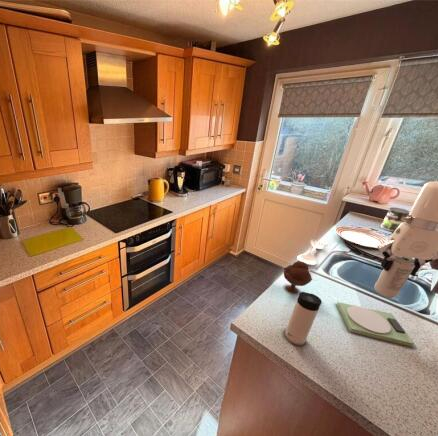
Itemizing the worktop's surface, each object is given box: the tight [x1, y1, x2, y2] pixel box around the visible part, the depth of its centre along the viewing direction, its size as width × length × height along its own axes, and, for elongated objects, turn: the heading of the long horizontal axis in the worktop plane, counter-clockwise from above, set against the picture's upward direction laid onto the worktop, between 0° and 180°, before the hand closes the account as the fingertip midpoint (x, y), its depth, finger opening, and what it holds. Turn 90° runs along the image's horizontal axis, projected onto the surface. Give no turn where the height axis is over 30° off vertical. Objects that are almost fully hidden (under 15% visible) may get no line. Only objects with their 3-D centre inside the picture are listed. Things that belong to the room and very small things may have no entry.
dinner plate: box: [334, 225, 389, 249], centre depth 147 cm, size 28×27×3 cm
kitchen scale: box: [336, 301, 415, 348], centre depth 88 cm, size 18×14×3 cm
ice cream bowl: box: [283, 260, 313, 295], centre depth 103 cm, size 11×11×15 cm
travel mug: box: [284, 291, 322, 346], centre depth 79 cm, size 6×7×20 cm
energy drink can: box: [374, 256, 415, 299], centre depth 78 cm, size 6×6×15 cm
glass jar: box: [380, 207, 411, 233], centre depth 159 cm, size 10×10×14 cm
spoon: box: [296, 237, 329, 266], centre depth 132 cm, size 9×32×4 cm, turn 133°
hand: (397, 270), depth 77 cm, fingers closed on energy drink can, 6 cm apart
